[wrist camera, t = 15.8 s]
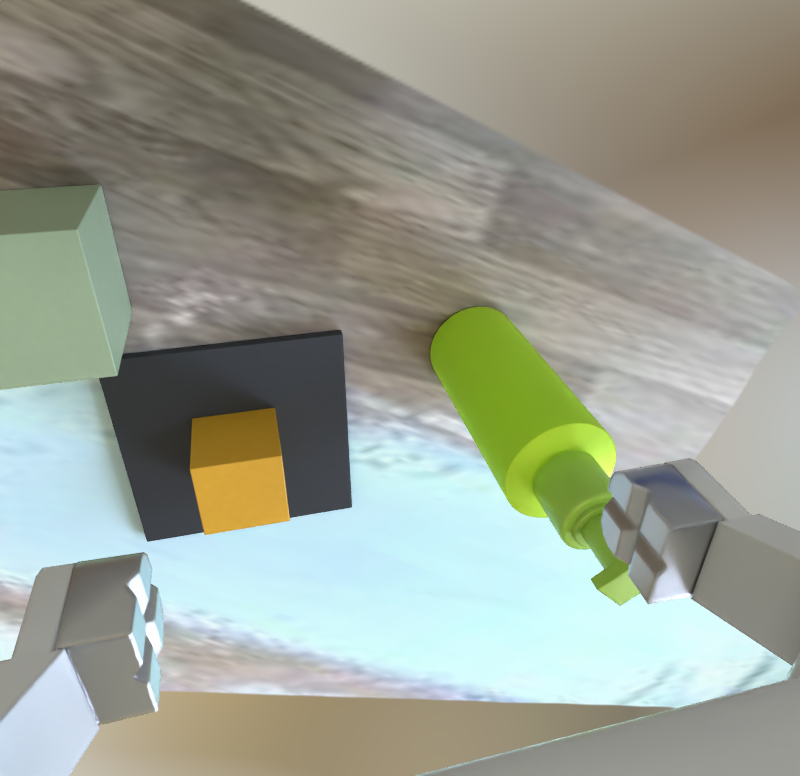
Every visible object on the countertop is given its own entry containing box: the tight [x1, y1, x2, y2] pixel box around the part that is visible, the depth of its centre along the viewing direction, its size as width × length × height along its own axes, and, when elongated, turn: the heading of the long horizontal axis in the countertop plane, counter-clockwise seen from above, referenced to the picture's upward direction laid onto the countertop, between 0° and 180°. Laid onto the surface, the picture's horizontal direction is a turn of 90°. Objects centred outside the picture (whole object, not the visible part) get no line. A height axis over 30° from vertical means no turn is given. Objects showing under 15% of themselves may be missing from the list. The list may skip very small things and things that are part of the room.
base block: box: [0, 184, 132, 390], centre depth 30 cm, size 7×7×7 cm
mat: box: [99, 330, 352, 541], centre depth 42 cm, size 14×14×1 cm
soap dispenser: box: [430, 307, 640, 605], centre depth 34 cm, size 6×7×20 cm
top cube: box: [190, 408, 290, 535], centre depth 39 cm, size 5×5×5 cm
